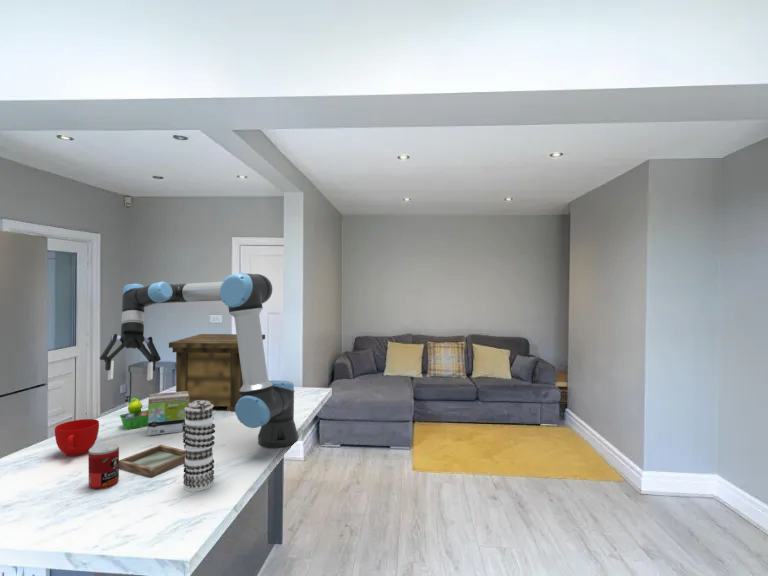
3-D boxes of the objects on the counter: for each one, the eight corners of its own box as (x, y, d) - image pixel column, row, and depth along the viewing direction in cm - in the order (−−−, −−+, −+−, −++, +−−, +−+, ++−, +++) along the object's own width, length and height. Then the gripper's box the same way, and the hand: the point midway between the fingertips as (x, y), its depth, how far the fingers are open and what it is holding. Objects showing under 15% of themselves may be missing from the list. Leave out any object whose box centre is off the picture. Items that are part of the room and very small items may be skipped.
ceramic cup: (46, 466, 144) (46, 436, 144) (60, 448, 160) (60, 421, 160) (92, 460, 149) (92, 431, 149) (102, 443, 165) (102, 417, 165)
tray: (193, 459, 151) (193, 452, 151) (151, 477, 137) (151, 470, 137) (160, 451, 158) (160, 444, 158) (117, 468, 144) (117, 460, 144)
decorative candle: (179, 482, 134) (179, 400, 133) (211, 475, 139) (211, 396, 139) (185, 494, 126) (185, 408, 126) (218, 486, 131) (219, 403, 131)
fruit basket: (123, 431, 179) (123, 403, 179) (118, 425, 186) (118, 399, 185) (153, 425, 186) (154, 399, 186) (148, 420, 193) (148, 394, 193)
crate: (200, 393, 240) (201, 333, 239) (264, 394, 239) (265, 334, 239) (168, 412, 205) (168, 342, 204) (243, 413, 204) (243, 343, 204)
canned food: (104, 491, 128) (104, 453, 128) (81, 488, 130) (81, 451, 129) (125, 479, 135) (125, 444, 135) (103, 477, 137) (103, 442, 137)
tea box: (147, 437, 173) (147, 399, 173) (148, 429, 182) (148, 393, 182) (189, 431, 180) (189, 395, 180) (187, 424, 189) (187, 389, 188)
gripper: (161, 329, 179) (160, 381, 172) (91, 323, 160) (87, 381, 153) (170, 324, 175) (169, 377, 168) (100, 317, 156) (96, 377, 149)
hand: (130, 379), depth 161 cm, fingers open, 13 cm apart
